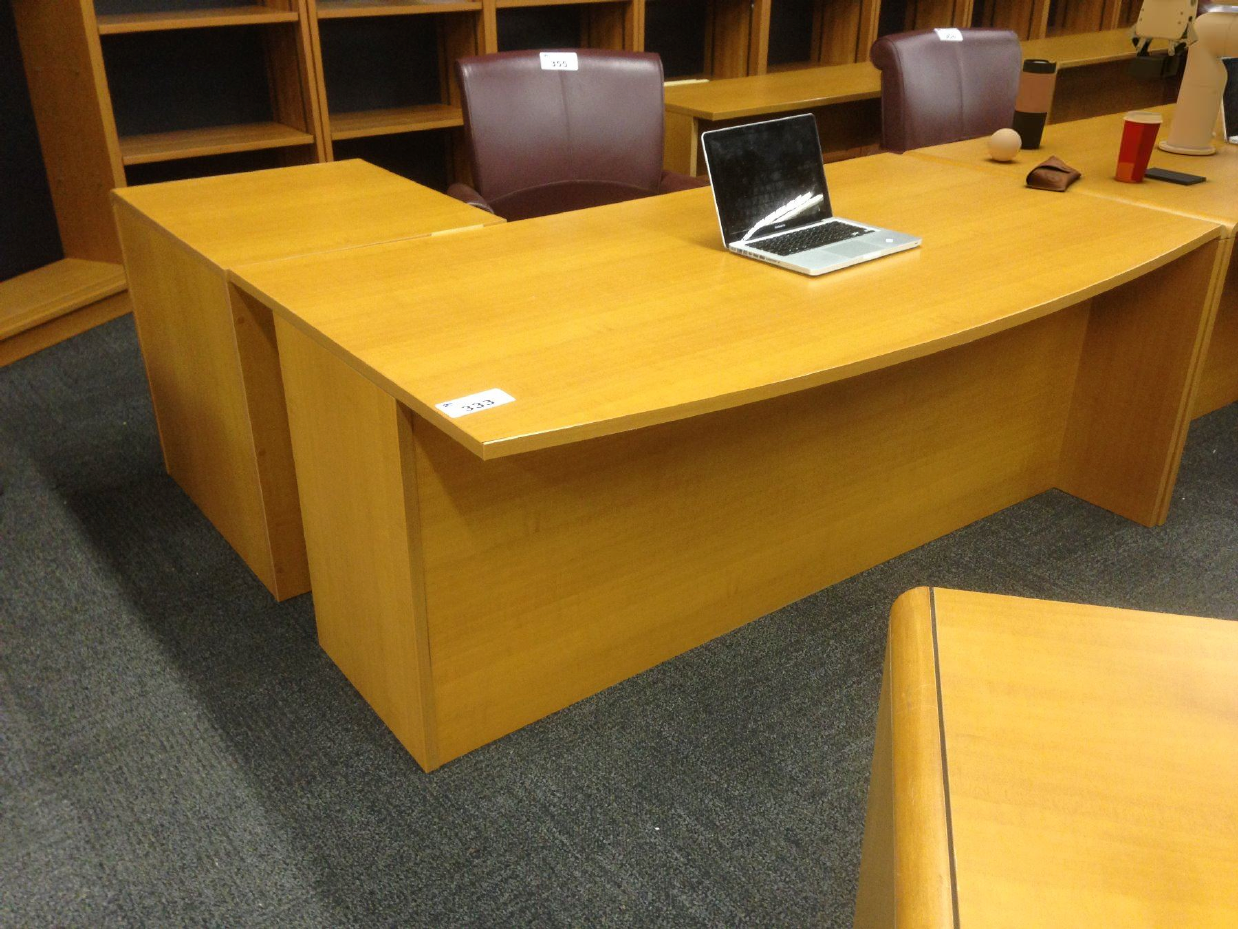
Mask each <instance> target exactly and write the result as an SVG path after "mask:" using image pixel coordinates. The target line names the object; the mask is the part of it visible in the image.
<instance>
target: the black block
mask: <svg viewBox="0 0 1238 929" xmlns="http://www.w3.org/2000/svg"><path fill="white" fill-rule="evenodd" d="M1165 56H1166V55H1163V54H1153V55H1149V56H1141V57H1137V56H1133V57H1131V61H1130V64H1129V69H1128V74H1127V75H1128V76H1131V77H1140V78H1147V79H1154V78H1162V77H1165V76H1161V70H1162V66H1163V62H1164V58H1165ZM1180 59H1181V57H1179V56H1177V59H1176V63H1175V67H1174V70H1173V72H1172V73H1171V75H1170V76H1169V77H1173V76H1177V72H1178V68H1179V64H1180Z"/></svg>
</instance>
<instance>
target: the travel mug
mask: <svg viewBox="0 0 1238 929" xmlns="http://www.w3.org/2000/svg"><path fill="white" fill-rule="evenodd" d="M1022 64H1023V65H1022V70H1021V74H1020V75H1021V76H1020V79H1019V85H1018V90H1017V94H1016V95H1017V96H1016V100H1015V105H1014V110H1013V116H1012V117H1013V118H1012V124H1011V129H1012V130H1014V131H1015V132H1017V133H1018V135H1019V136H1020V139H1021V146H1022V147H1021V148H1020V150H1037V149H1039V148H1040V146H1041V142H1042V137H1043V132H1044V130H1045V129H1044V128H1045V125H1046V120H1047V115H1048V111H1049V106H1050V102H1051V96H1052V90H1053V85H1054V80H1055V74H1056V69H1057V65H1058V62H1057V61H1055V62H1050V61H1049V59H1044V58H1043V59H1041V58H1028V59H1024V60H1023V63H1022Z"/></svg>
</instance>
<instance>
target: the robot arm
mask: <svg viewBox="0 0 1238 929" xmlns="http://www.w3.org/2000/svg"><path fill="white" fill-rule="evenodd" d="M1210 2H1212V3H1213V4H1216V5H1218V6H1219V5H1220V6H1227V7H1238V0H1210ZM1198 5H1199V0H1143V2H1142V5H1141V8H1140V11H1139V15H1138V18H1137V21H1136V22H1135V23H1134V24H1133V25H1132V26H1131V27H1130V28H1129V29H1128V30H1127V31H1126V35H1127V37H1128V38H1129V39H1130V41H1131V43H1132V44H1133V46H1134V48H1135V52H1136V57H1141V56H1150V51H1149V48H1150V47H1151V44H1152V42H1153V40H1154V39H1157V40H1167V51H1168V52H1167V55H1164V56H1165V58H1164V62H1163V66H1162V70H1161V76H1164V77H1171V76H1170V75H1171V73H1172V72H1173V70H1174V67H1175V63H1176V59H1177V57H1178V56H1179V55H1181V53H1182V52H1184V51H1185V50H1186V49H1187V48H1188V51H1187V52H1188V53H1187V56H1186V63H1185V68H1184V72H1183V76H1182V80H1181V84H1180V88H1179V92H1178V96H1177V99H1176V103H1175V108H1174V111H1173V115H1172V119H1171V123H1170V127H1169V131H1168V135H1167V138H1166V140H1164V141H1160V142H1159V143H1158V149H1160V150H1161V151H1165V152H1169V153H1173V154H1181V155H1190V156H1191V155H1192V156H1209V155H1213V154H1214V153H1215V152H1216V147H1214V146H1212V145H1210V144H1211V141H1213V140H1216V138H1217V136H1218V135H1217V133H1216V131H1214V129H1215V126H1216V122H1217V118H1218V115H1219V112H1220V108H1221V103H1222V100H1223V96H1224V93H1225V90H1226V85H1227V82H1228V71H1227V68H1226V66H1225V64H1224V61H1223V60H1222V58H1234V59H1235V58H1236V59H1238V12H1231V11H1230V12H1229V11H1209V12H1205V13H1202V14H1200V15H1199V16H1197V13H1198V12H1197V11H1198ZM1182 40H1184V41H1182Z"/></svg>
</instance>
